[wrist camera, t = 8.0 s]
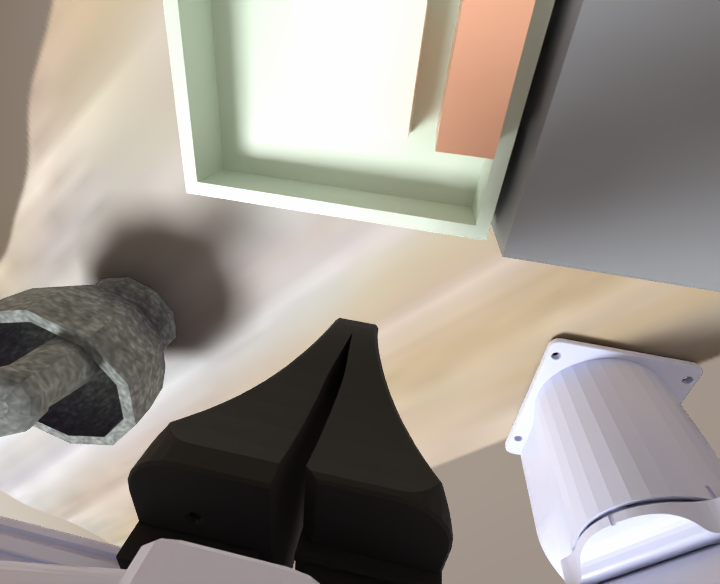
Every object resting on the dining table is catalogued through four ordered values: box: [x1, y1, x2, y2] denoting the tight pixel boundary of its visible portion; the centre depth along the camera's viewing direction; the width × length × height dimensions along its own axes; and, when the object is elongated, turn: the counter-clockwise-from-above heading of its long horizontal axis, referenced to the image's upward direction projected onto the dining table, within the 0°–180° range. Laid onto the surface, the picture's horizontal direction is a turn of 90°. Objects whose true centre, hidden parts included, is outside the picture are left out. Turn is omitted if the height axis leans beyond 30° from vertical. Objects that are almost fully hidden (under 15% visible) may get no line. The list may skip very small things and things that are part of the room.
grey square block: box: [491, 0, 720, 292], centre depth 14 cm, size 12×12×4 cm
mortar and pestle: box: [0, 277, 176, 445], centre depth 22 cm, size 11×9×12 cm
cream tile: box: [291, 0, 430, 140], centre depth 16 cm, size 5×5×2 cm
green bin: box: [163, 0, 555, 241], centre depth 16 cm, size 12×14×3 cm
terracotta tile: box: [435, 0, 536, 159], centre depth 14 cm, size 5×5×2 cm
